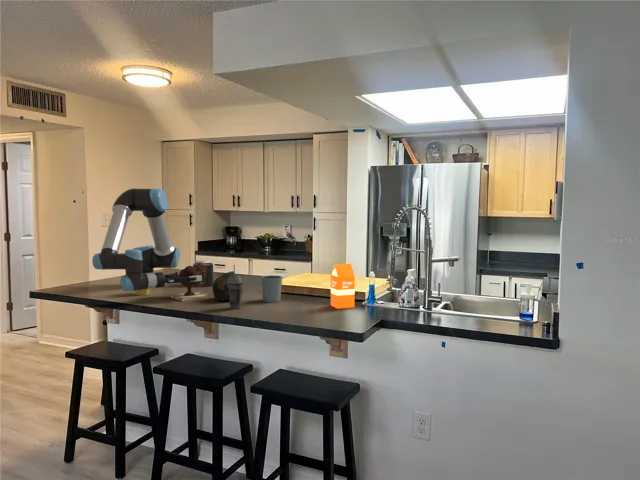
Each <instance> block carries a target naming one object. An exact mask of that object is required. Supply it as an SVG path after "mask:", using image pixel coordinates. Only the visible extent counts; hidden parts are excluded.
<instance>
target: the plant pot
mask: <svg viewBox="0 0 640 480" xmlns="http://www.w3.org/2000/svg"><path fill="white" fill-rule="evenodd" d="M151 289H152V288H150V290H148V289H142V290H135V294H136V296H137V295H138V296H142V297H143V296H149V295H150V294H151ZM138 296H137V297H138Z"/></svg>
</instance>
